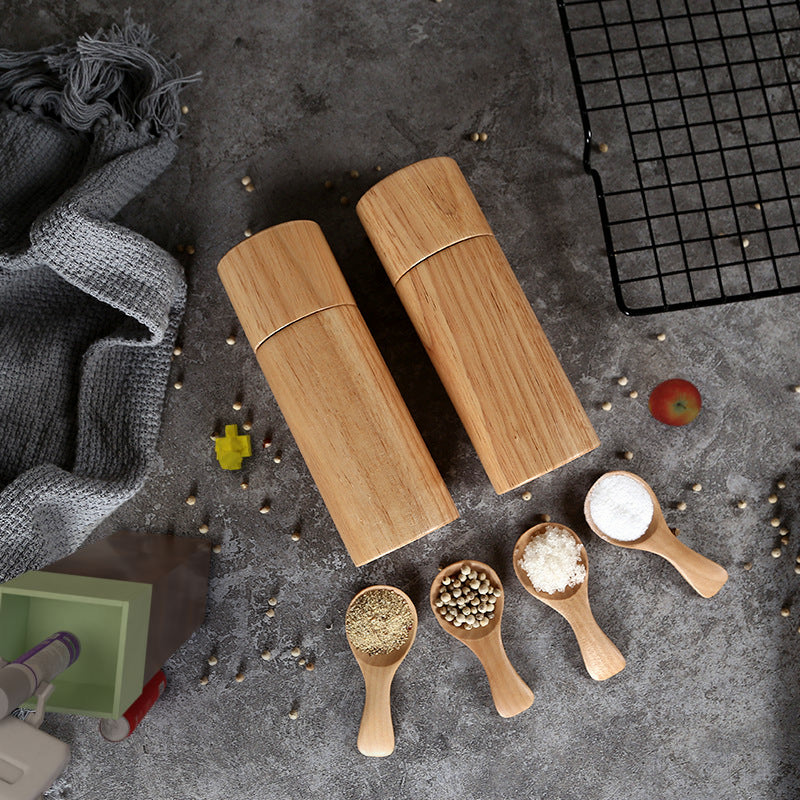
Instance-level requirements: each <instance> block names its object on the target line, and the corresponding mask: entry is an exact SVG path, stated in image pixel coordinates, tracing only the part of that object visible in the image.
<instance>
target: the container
mask: <svg viewBox="0 0 800 800" xmlns="http://www.w3.org/2000/svg"><path fill="white" fill-rule="evenodd" d="M80 654H81V643H80V641H79V639H78V638H77V636H76V635H75V634H73V633H71V632H69V631H59V632H56V633H54V634H53V635H51V636H50V637H48V638H47V639H45V640H44V641H42V642H41V643H39V644H38V645H36V646H35V647H34V648H32V649H31V650H29V651H28V652H26V653H25V654H23V655H22V656H20V657H19V658H17V659H16V660H14V661H13V662H11V663H10V664H8V665H7V666H5V667H4V668H3V669H1V670H0V720H1V719H2V718H4V717H5V716H6V715H8V714H11V713H12V712H13V711H15V710H16V709H17V707H18V706H20V705H21V704H22V703H24V702H25V701H27V700H28V699H29V698H30V697H32V696H33V695H34V691H35V690H36V688H37V687H39V686H40V683H41V682H42V681H43V680H46V681H48V682H50V681H52V680H53V679H54V678H55V677H57V676H58V675H59V674H60V673H62V672H63V671H64V670H65V669H67V668H68V667H69V666H70V665H72V664H73V663H74V662H75V661H76V660H77V659H78V658H79V656H80Z"/></svg>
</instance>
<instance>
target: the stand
mask: <svg viewBox="0 0 800 800" xmlns="http://www.w3.org/2000/svg"><path fill="white" fill-rule="evenodd" d="M212 546H213V540H212V539H205V538H196V537H189V536H188V537H187V536H179V535H170V534H161V533H152V532H145V531H144V532H143V531H136V530H128V529H127V530H126V529H120V530H117V531H116V532H114V533H112V534H109V535H108V536H105V537H103V538H101V539H99V540H97V541H94V542H93V543H91V544H89V545H86V546H84V547H83V548H80V549H78V550H76V551H74V552H72V553H70V554H68V555H66V556H63V557H61V558H60V559H58V560H55V561H53V562H51V563H49V564H47V565H45V566H43V567H41V568H39V569H36V571H42V572H50V573H59V574H67V575H76V576H85V577H93V578H102V579H110V580H119V581H127V582H136V583H145V584H152V595H151V605H150V616H149V626H148V636H147V647H146V657H145V667H144V677H143V687H144V686H145V685H146V684H147V683H148V682H149V681H150V679H151V678H152V677H153V676H154V675H155V674H156V673H157V672H158V671H159V670H161V669H162V668H163V666H164V665H166V663H167V662H168V661H169V660H170V659H171V658H172V657H173V656H174V654H176V653H177V652H178V650H179V649H180V648H181V647H182V646H183V645H184V644H185V642H187V640H188V639H189V638H190V637H191V636H192V635H193V634H195V632H196V631H197V629H199V627H201V625H202V624H203V623H204V622H205V618H206V608H207V607H206V606H207V596H208V588H209V577H210V567H211V557H212V548H213V547H212Z"/></svg>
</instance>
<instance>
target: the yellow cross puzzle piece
mask: <svg viewBox="0 0 800 800" xmlns="http://www.w3.org/2000/svg"><path fill="white" fill-rule="evenodd" d="M224 430H225V431H224V433H225V436H223V437H222V436H221V437H216V438H214V439H215V448H214V452H216V458H215V459H216V460H217V461H218V463H219V464H220V467H221V469H222V470H229V471H233V470H240V469H242V462H243V460H244V458H246V457H251V456H253V454H252V444H251V435H250V434H245V435H244V434H243V435H239V432H238V424H226V425H225V429H224Z"/></svg>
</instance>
